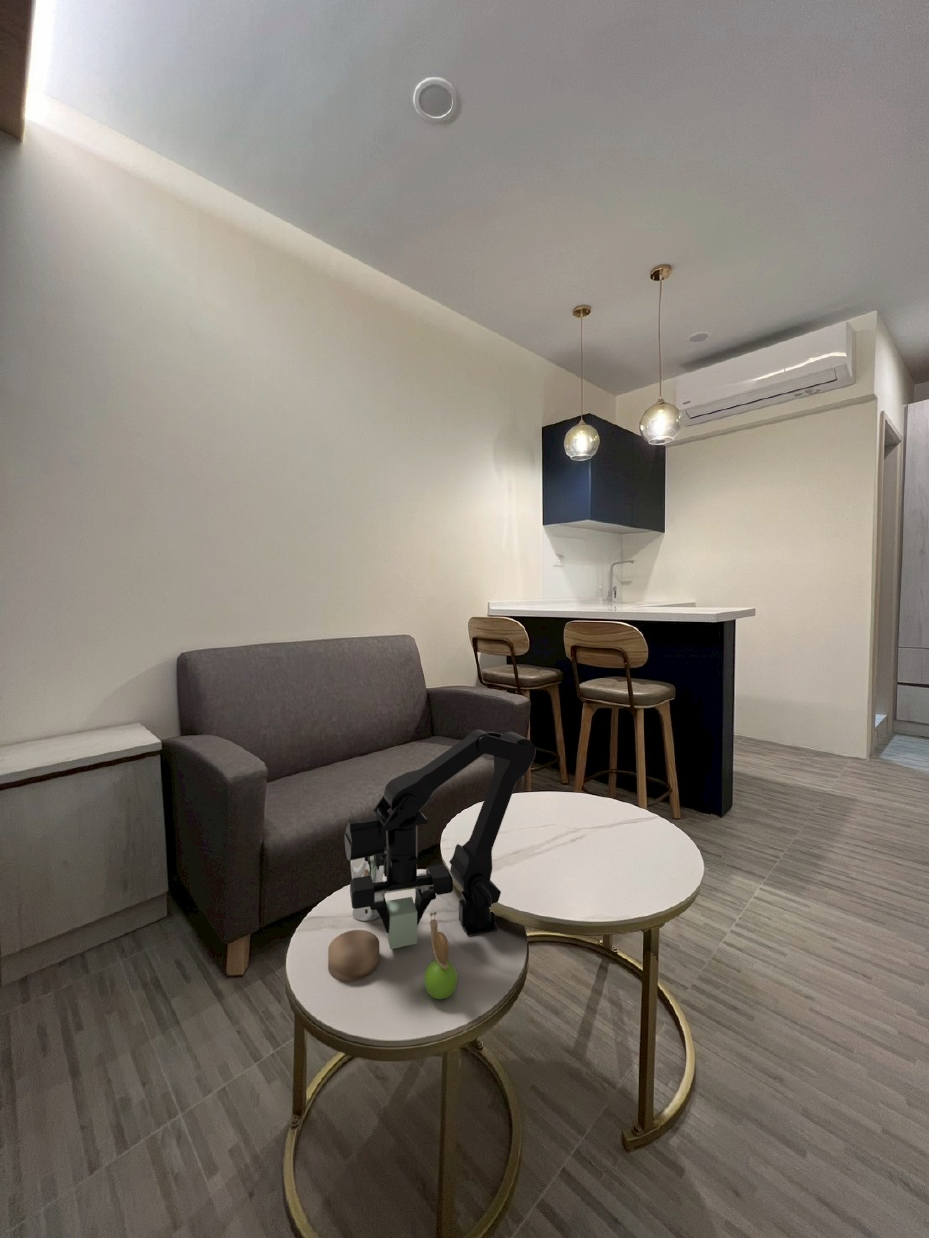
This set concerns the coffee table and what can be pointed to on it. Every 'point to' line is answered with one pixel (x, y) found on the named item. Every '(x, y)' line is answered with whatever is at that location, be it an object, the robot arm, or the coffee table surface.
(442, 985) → the snail figurine
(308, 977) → the coffee table surface
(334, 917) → the coffee table surface
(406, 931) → the sage block
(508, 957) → the coffee table surface
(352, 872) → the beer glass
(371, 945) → the walnut base
